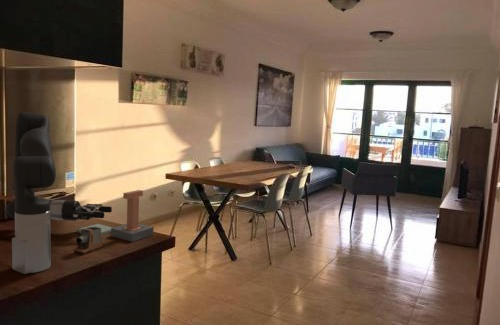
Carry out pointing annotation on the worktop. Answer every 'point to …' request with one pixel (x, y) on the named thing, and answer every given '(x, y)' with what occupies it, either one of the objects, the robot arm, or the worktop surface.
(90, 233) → the electronic device
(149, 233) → the socket block
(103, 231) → the mat
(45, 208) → the robot arm
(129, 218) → the t key
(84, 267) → the worktop surface
